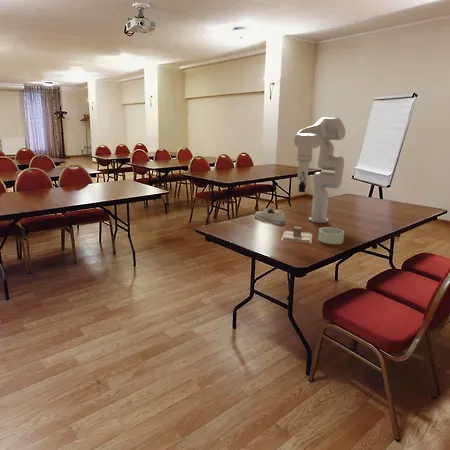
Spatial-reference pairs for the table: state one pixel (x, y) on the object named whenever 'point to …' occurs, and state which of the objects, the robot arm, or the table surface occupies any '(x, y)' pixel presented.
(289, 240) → the mat
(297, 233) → the lid
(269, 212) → the boat shoe
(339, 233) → the bowl
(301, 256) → the table surface
